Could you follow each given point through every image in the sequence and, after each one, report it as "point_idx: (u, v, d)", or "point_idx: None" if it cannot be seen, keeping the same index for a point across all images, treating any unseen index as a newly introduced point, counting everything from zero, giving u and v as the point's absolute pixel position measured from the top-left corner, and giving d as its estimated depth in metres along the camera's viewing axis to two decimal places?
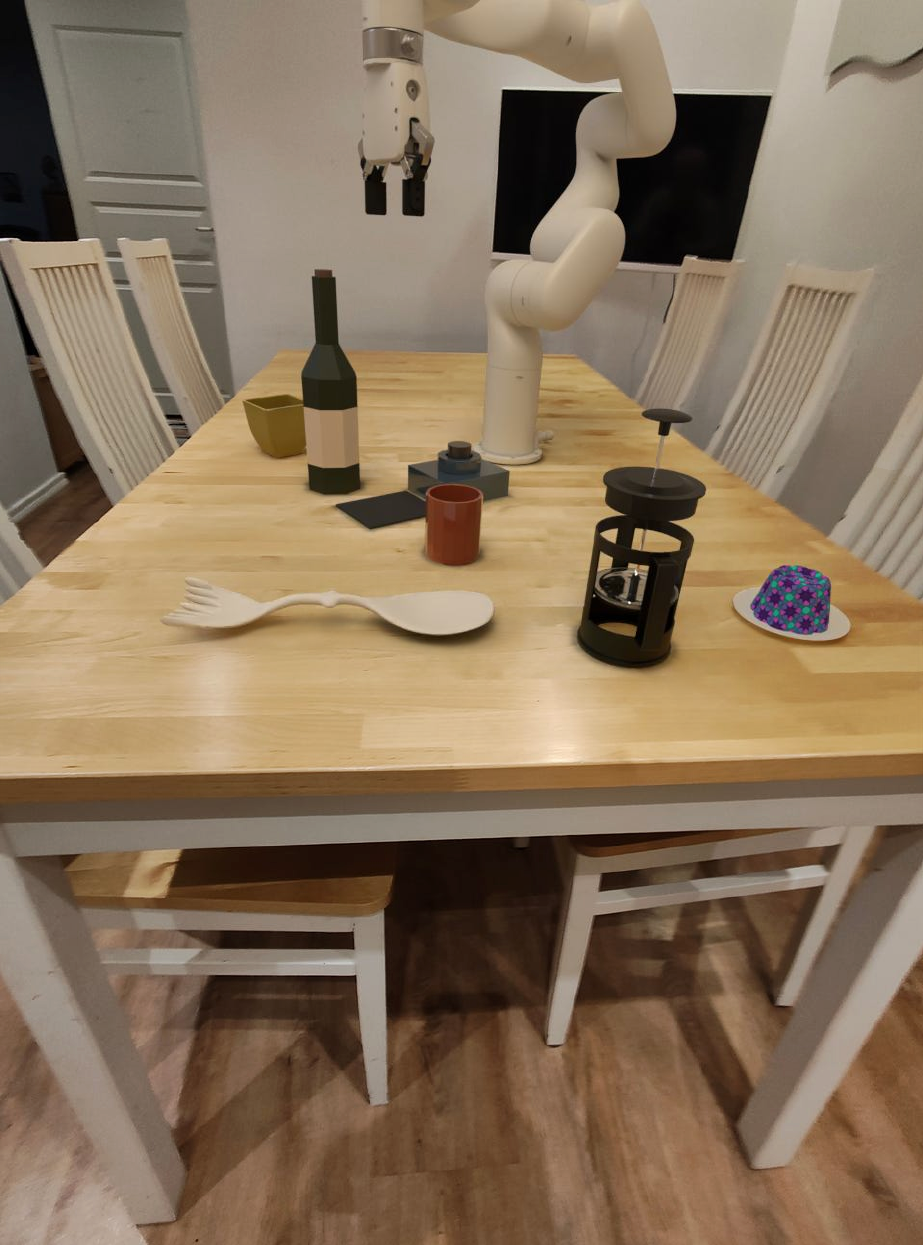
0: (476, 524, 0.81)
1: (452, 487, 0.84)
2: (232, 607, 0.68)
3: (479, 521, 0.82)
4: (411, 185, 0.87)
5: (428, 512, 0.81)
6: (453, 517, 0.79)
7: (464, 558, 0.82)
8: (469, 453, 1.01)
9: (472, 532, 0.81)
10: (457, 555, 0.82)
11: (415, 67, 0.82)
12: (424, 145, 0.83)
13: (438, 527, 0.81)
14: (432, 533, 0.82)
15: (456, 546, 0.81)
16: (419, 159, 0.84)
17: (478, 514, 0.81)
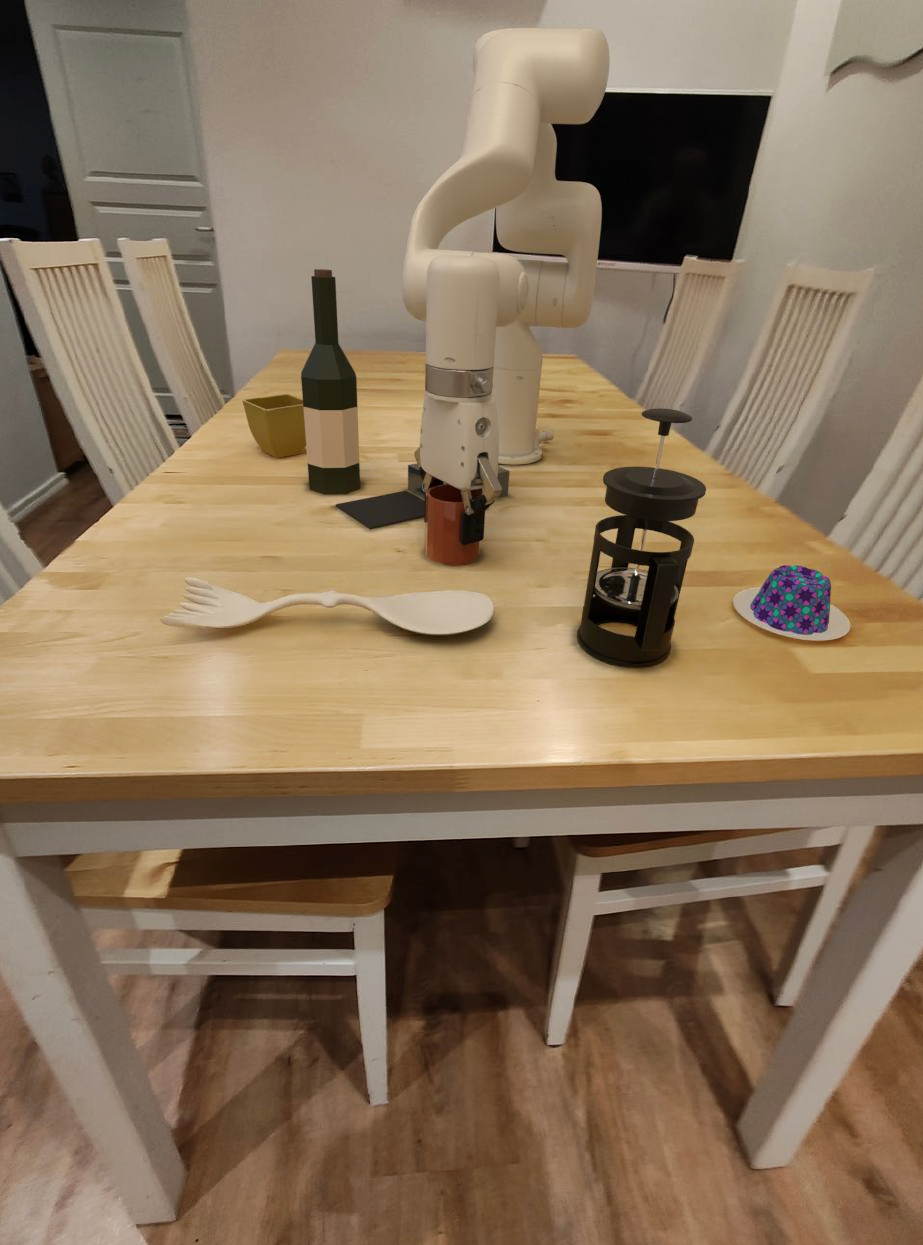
0: None
1: (452, 487, 0.84)
2: (232, 607, 0.68)
3: None
4: (471, 519, 0.79)
5: (428, 512, 0.81)
6: (453, 517, 0.79)
7: (464, 558, 0.82)
8: None
9: None
10: (457, 555, 0.82)
11: (485, 404, 0.73)
12: (489, 494, 0.75)
13: (438, 527, 0.81)
14: (432, 533, 0.82)
15: (456, 546, 0.81)
16: (482, 502, 0.76)
17: None
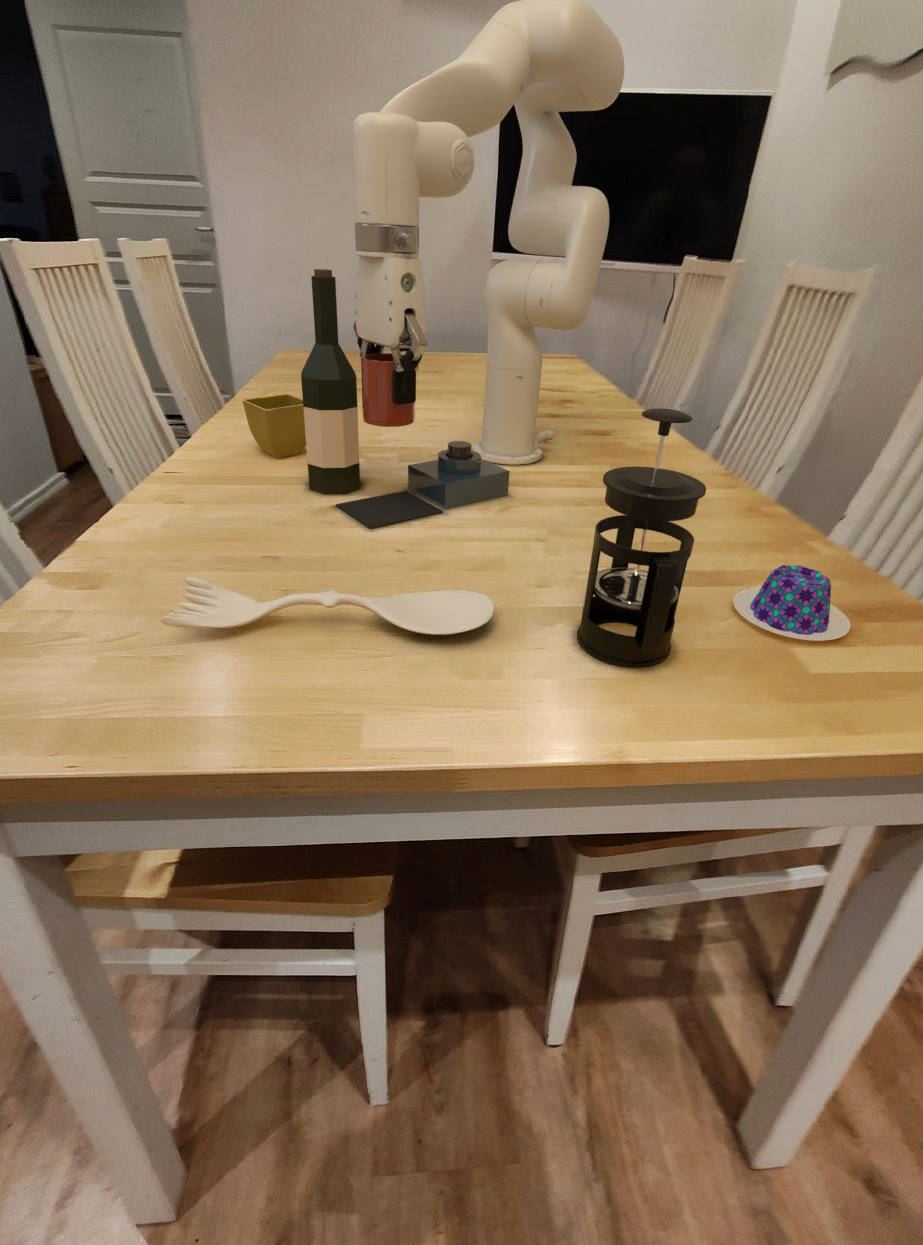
0: None
1: (388, 356, 0.90)
2: (232, 607, 0.68)
3: None
4: (402, 377, 0.84)
5: (363, 374, 0.86)
6: (385, 376, 0.85)
7: (398, 420, 0.88)
8: (469, 453, 1.01)
9: None
10: (391, 416, 0.87)
11: (410, 260, 0.78)
12: (416, 347, 0.80)
13: (372, 388, 0.86)
14: (367, 395, 0.87)
15: (389, 407, 0.87)
16: (410, 356, 0.82)
17: None
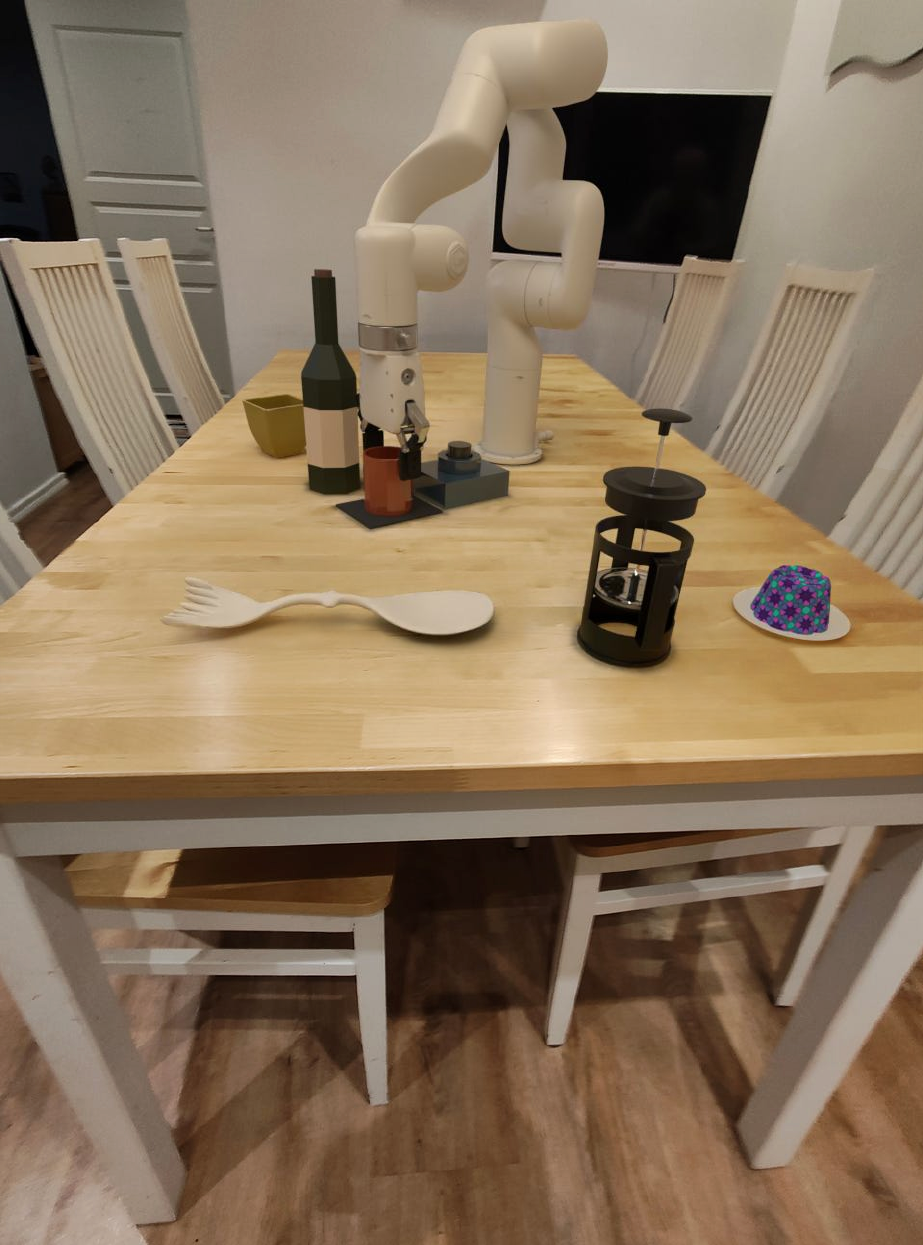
0: None
1: (388, 448, 0.96)
2: (232, 607, 0.68)
3: None
4: (407, 457, 0.89)
5: (364, 469, 0.93)
6: (385, 473, 0.91)
7: (397, 510, 0.94)
8: (469, 453, 1.01)
9: (403, 487, 0.93)
10: (390, 507, 0.94)
11: (410, 357, 0.84)
12: (419, 430, 0.85)
13: (373, 482, 0.92)
14: (368, 488, 0.93)
15: (389, 499, 0.93)
16: (415, 440, 0.87)
17: None
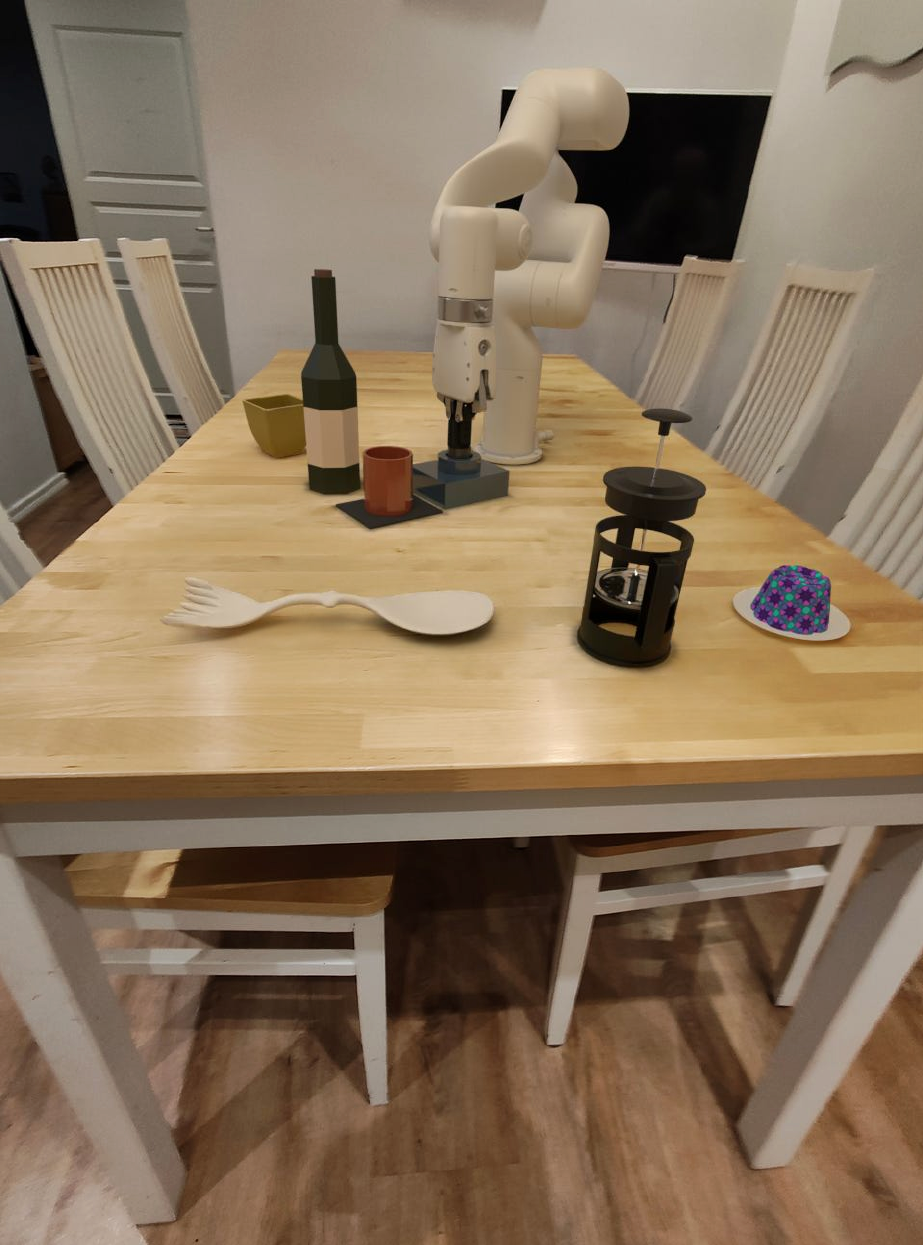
0: (406, 480, 0.93)
1: (388, 448, 0.96)
2: (232, 607, 0.68)
3: (409, 477, 0.94)
4: (460, 426, 0.98)
5: (364, 469, 0.93)
6: (385, 473, 0.91)
7: (397, 510, 0.94)
8: (469, 455, 1.01)
9: (403, 487, 0.93)
10: (390, 507, 0.94)
11: (486, 329, 0.90)
12: (476, 410, 0.95)
13: (373, 482, 0.92)
14: (368, 488, 0.93)
15: (389, 499, 0.93)
16: (469, 410, 0.96)
17: (408, 471, 0.93)
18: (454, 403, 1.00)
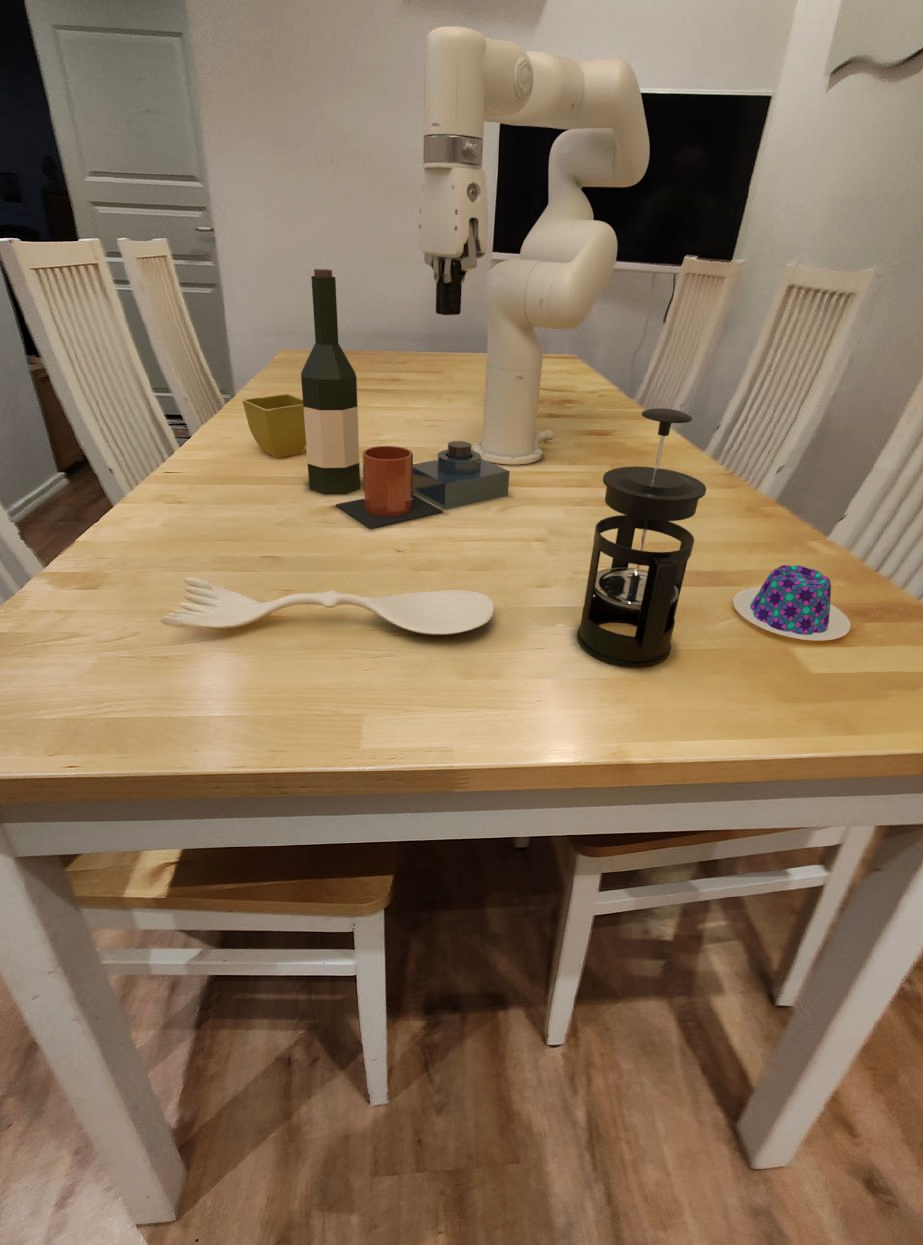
0: (406, 480, 0.93)
1: (388, 448, 0.96)
2: (232, 607, 0.68)
3: (409, 477, 0.94)
4: (449, 288, 0.92)
5: (364, 469, 0.93)
6: (385, 473, 0.91)
7: (397, 510, 0.94)
8: (469, 453, 1.01)
9: (403, 487, 0.93)
10: (390, 507, 0.94)
11: (476, 171, 0.84)
12: (465, 266, 0.89)
13: (373, 482, 0.92)
14: (368, 488, 0.93)
15: (389, 499, 0.93)
16: (458, 267, 0.90)
17: (408, 471, 0.93)
18: (442, 266, 0.94)
